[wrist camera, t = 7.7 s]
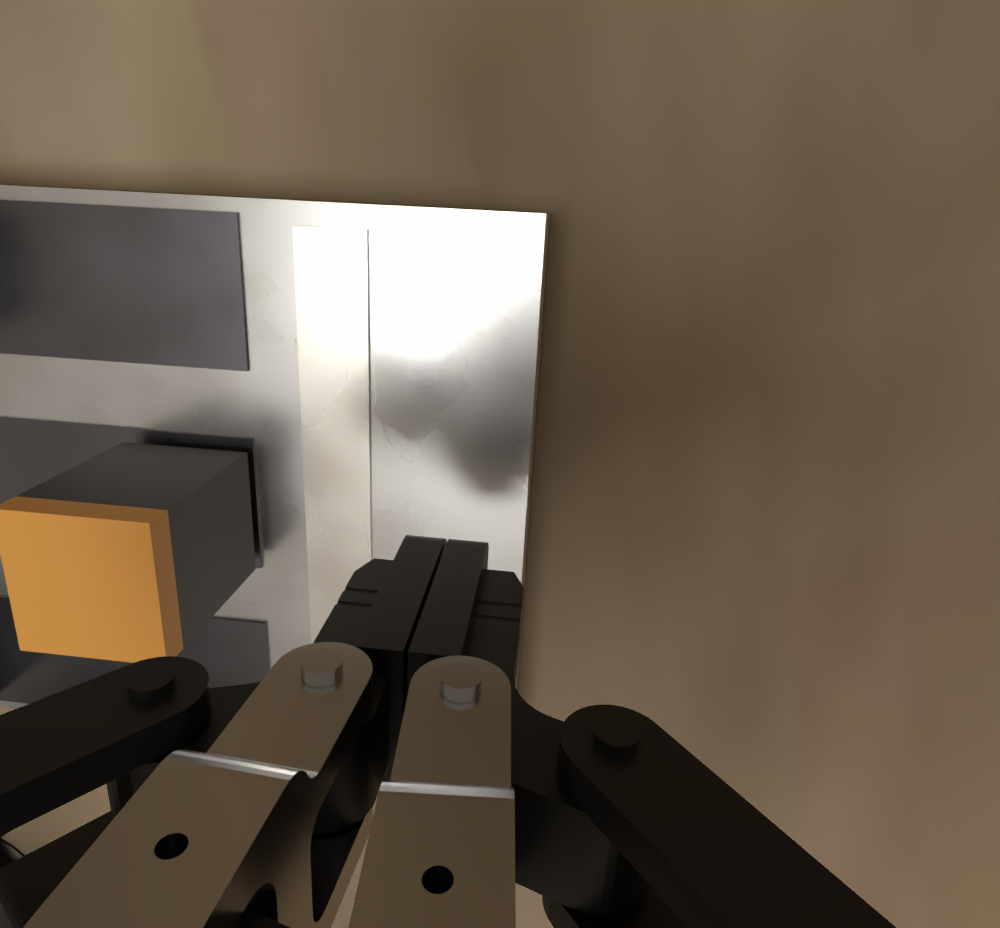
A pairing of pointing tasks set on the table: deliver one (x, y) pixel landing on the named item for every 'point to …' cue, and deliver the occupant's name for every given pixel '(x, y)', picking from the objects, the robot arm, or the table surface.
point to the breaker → (127, 551)
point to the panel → (275, 384)
